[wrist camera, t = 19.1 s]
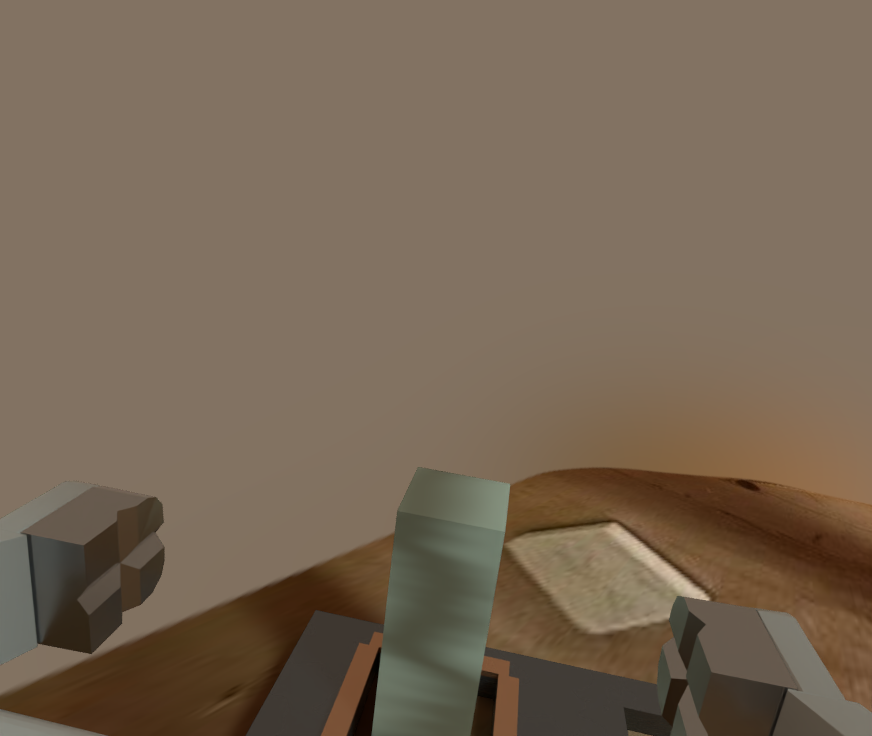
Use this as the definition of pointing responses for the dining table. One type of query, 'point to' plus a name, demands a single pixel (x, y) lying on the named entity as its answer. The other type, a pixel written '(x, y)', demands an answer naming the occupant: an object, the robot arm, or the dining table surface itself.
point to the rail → (500, 680)
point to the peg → (439, 603)
